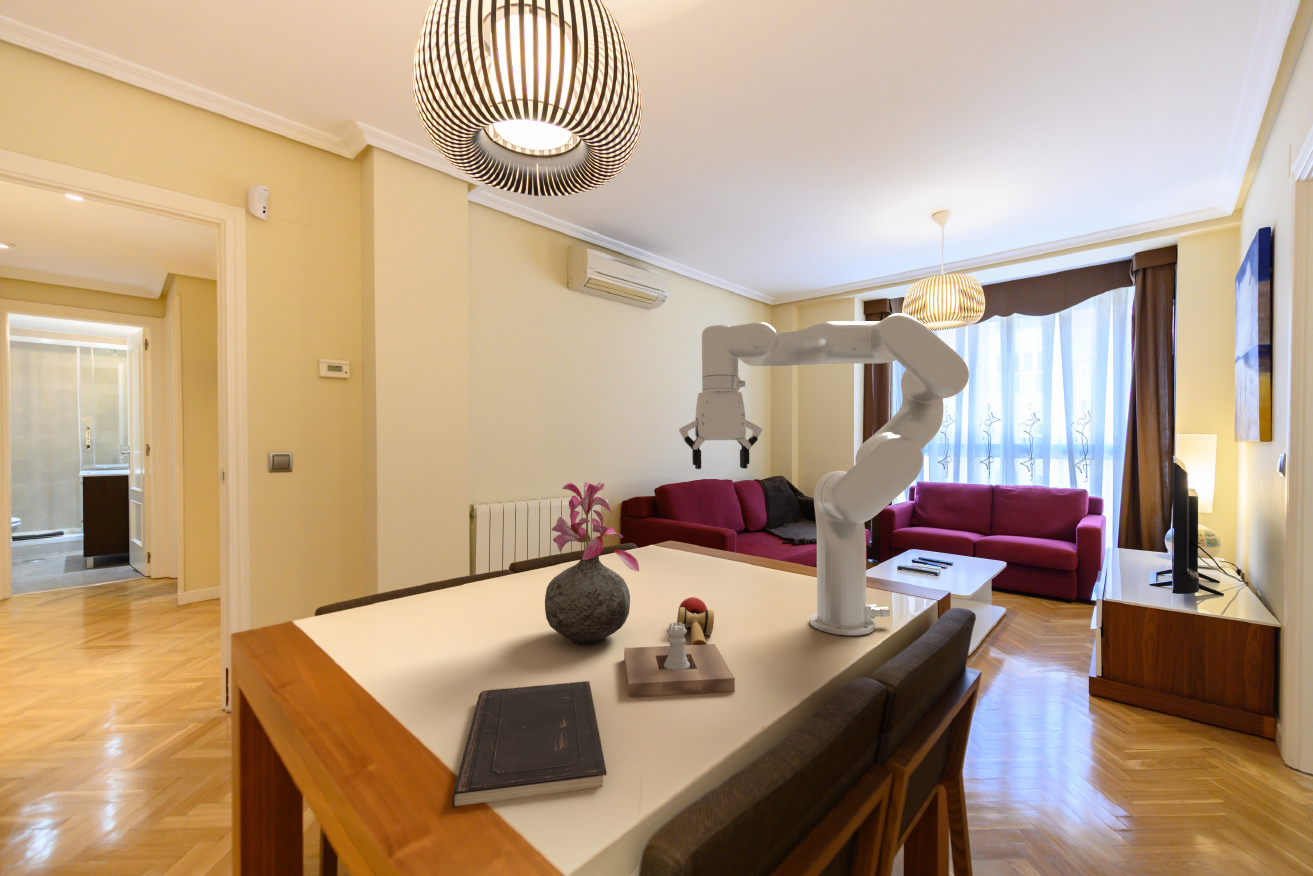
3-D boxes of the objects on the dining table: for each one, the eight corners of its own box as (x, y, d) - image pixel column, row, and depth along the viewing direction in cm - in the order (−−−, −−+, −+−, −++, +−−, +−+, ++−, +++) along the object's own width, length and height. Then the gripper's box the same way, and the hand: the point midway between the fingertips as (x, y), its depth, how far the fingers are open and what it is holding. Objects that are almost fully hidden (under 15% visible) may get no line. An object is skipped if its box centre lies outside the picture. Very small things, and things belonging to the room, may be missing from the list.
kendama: (725, 662, 96) (712, 615, 114) (719, 629, 95) (707, 587, 113) (682, 670, 96) (676, 622, 114) (676, 637, 95) (671, 594, 113)
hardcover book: (589, 696, 81) (589, 680, 81) (606, 793, 59) (606, 772, 59) (478, 706, 78) (478, 690, 78) (451, 814, 56) (451, 791, 56)
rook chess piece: (662, 669, 90) (661, 620, 90) (688, 668, 90) (688, 620, 90) (664, 681, 85) (664, 630, 85) (692, 679, 86) (692, 629, 86)
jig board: (714, 655, 95) (714, 643, 95) (734, 691, 81) (734, 678, 81) (624, 659, 94) (624, 648, 94) (628, 697, 80) (628, 683, 80)
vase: (540, 629, 109) (539, 481, 110) (623, 620, 115) (622, 478, 115) (550, 660, 93) (549, 487, 94) (646, 648, 99) (645, 484, 99)
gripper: (755, 388, 117) (756, 467, 117) (676, 387, 115) (677, 468, 115) (766, 384, 109) (767, 468, 109) (682, 384, 107) (682, 470, 107)
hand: (721, 468), depth 112 cm, fingers open, 9 cm apart
